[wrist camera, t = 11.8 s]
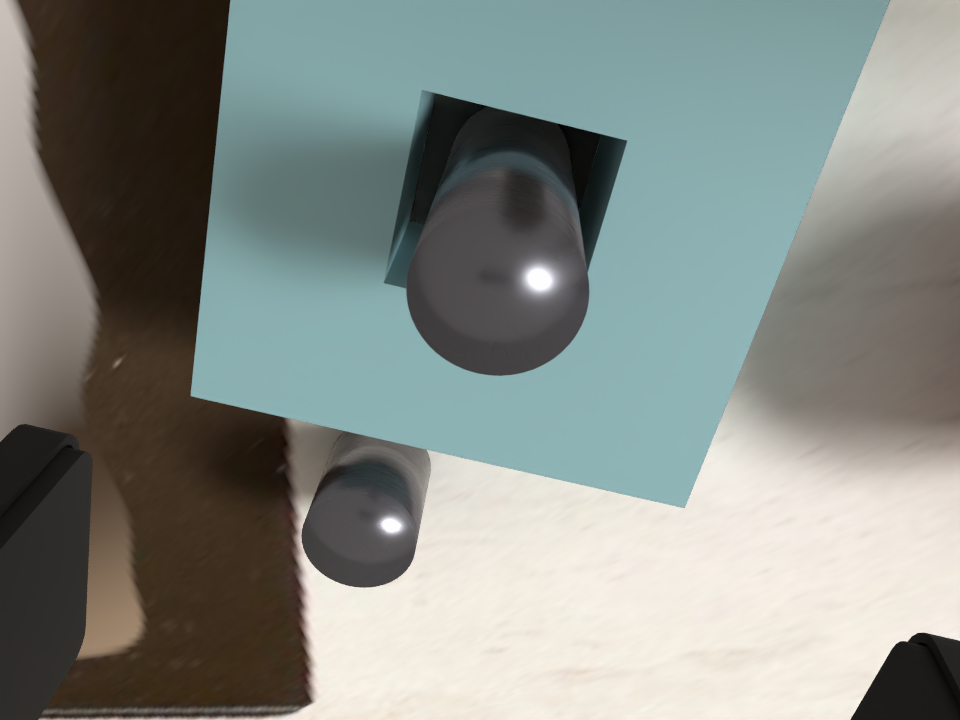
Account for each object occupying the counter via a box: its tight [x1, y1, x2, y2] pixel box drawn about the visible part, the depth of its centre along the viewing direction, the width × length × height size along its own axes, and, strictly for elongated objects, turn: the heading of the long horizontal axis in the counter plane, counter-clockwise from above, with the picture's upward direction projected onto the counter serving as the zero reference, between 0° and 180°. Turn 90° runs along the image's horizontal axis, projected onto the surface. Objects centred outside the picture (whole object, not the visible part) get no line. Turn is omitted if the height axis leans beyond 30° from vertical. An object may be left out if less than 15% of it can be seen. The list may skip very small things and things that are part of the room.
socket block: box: [191, 0, 890, 508], centre depth 28 cm, size 16×16×6 cm
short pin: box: [302, 431, 431, 587], centre depth 34 cm, size 4×4×5 cm
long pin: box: [406, 106, 589, 376], centre depth 25 cm, size 4×4×12 cm
